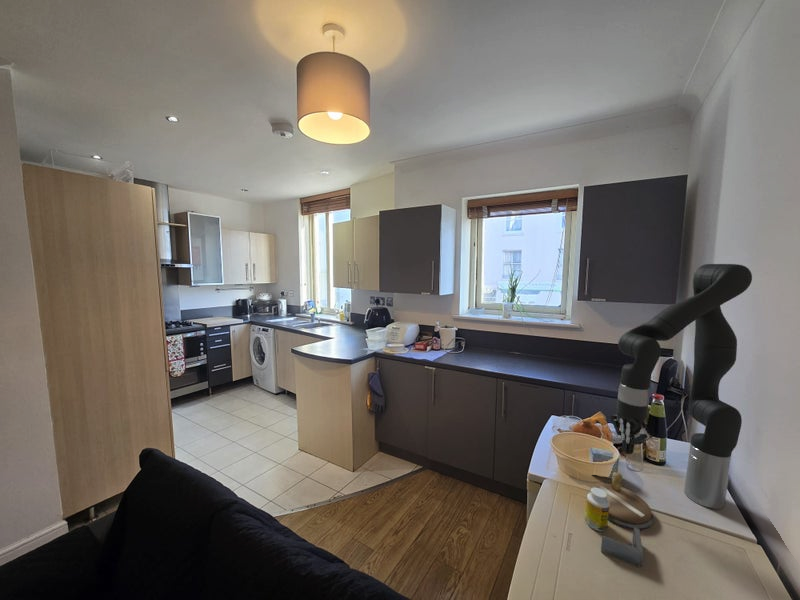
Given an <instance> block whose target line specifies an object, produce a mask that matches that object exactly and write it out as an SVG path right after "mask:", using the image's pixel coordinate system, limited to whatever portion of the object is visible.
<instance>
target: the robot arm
mask: <svg viewBox="0 0 800 600" xmlns="http://www.w3.org/2000/svg"><path fill="white" fill-rule="evenodd" d="M692 279H693V280H692V289H693V295H692V296H691V297H688V298H686V299H682V300H681V301H678V302H676V303H674V304H670V305H669V306H667V307H665V308H664V309H663V310H661V311H660V312H659V313H658V314H656V315H655V316H653V317H652V318H651V319H650V320H649V321H647V322H644V323H642V324H640V325H638V326H636V327H634V328H631V329H630V330H628V331H626V332H624V333H623V334H622V335H621V336H620V338H619V340H618V342H617V347H618V350H619V351H620V352H621V353H622V354H623V355H626V356H628V357H631V358H634V362H633V363H627V364H626V363H625V364H623V366H622V368H621V370H620V371H621V374H620V381H619V382H620V383H619V386H618V392H617V399H616V400H617V402H616V412H617V413H616V414H613V415H610V416H609V418H610V421H611V422H612V425H613V428H614V429H615V432H616V435H617V436H620V438H621V440H622V442H621V451H622V452H623V453H625V454H626V455H632V454H634V452H635V451H634V450H635V446H636V445H642V444H644V443H646V442H647V441H649V440H651V439H653V434H651V433H648V432H647V430H646V423H645V421H646V419H647V417H648V411H649V405H650V404H649V403H650V383H651V375H652V373H653V371H654V370H655V367H656V366H657V363H658V362H659V359H660V357H661V354H662V349H661V345H660V343H659V342H660V341H661V342H663V341H664V342H665V341H666V342H667V341H669V340H671V339H672V338H674V337H675V336H677V334H680V332H681V331H683V330H684V329H685V328H687V326H690V324H691V323H693V322H695V325H694V326H695V328H694V330H695V332H694V333H695V334H694V343H693V346H694V347H693V357H694V358H693V359H694V360H693V371H692V373H693V374H692V384H691V388H690V394H689V399H688V413H689V415H690V416H691V417H692V419H694V420H695V421H696V422H698V423H699V424H701V425H702V426H704V428H705V429H704V432H703V433H701V432H699V433H697V432H696V433H694V434H692V435H691V437H690V444H689V452H688V459H687V460H688V461H687V467H686V475H685V480H684V481H685V482H684V489H683V491H684V494H685V495H686V496H687V497H688V498H689V499H690V500H691V501H693V502H695V503H696V504H698V505H701V506H703V507H705V508H708V509H713V510H719V509H720V510H721V509H723V508H724V506H725V503H726V498H727V490H728V485H729V479H730V475H729V472H730V466H731V458H732V454H733V451H734V450H735V449H736V447H737V445H738V441H739V436H740V434H741V428H742V414H741V412H740V411H739V410H738V409H737V408H735V407H734V406H732V405H730V404H728V403H727V402H724V401H722V400H721V399H720V396H719V390H720V383H721V380H722V379H723V377H725V375H727V374H728V372H730V371H731V369H732V368H733V366H734V365H735V364H736V360H737V353H738V339H737V335H736V334H735V331H734V330H733V328H732V326H731V325H730V323H729V322H728V320H727V318H726V317H725V316H724V314H723V312H722V308H721V306H722V305H725V303H727V302H729V301H731V300H732V299H735V298H737V297H738V296H740V295H741V294H743V293H745V292H746V291H747V290H748V289H749V287H750V286H751V283H752V281H753V274H752V271H751V270H750V269H749V267H747V266H745V265H743V264H738V263H737V264H736V263H706V264H702V265H700V266H699V267H698V268H697V269H696V271H695V272H694V275H693V278H692ZM658 341H659V342H658Z"/></svg>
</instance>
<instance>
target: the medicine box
mask: <svg viewBox="0 0 800 600" xmlns="http://www.w3.org/2000/svg"><path fill="white" fill-rule="evenodd" d="M589 450H590V451H589V460H588V462H589V461H593V462H603V461H608V460H610V459H612V458H613V454H614V452H613V451H614V450H611V449H605V448H600V447H593V446H592V447H591V446H590V449H589ZM619 461H620V458H619V457H618V459H617V461H616V462H615V464H614V465H613V468H612V471H611V474H610V476H609V480H612V478H613V473H614V472H616V473H619V472H618V469H619Z"/></svg>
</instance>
